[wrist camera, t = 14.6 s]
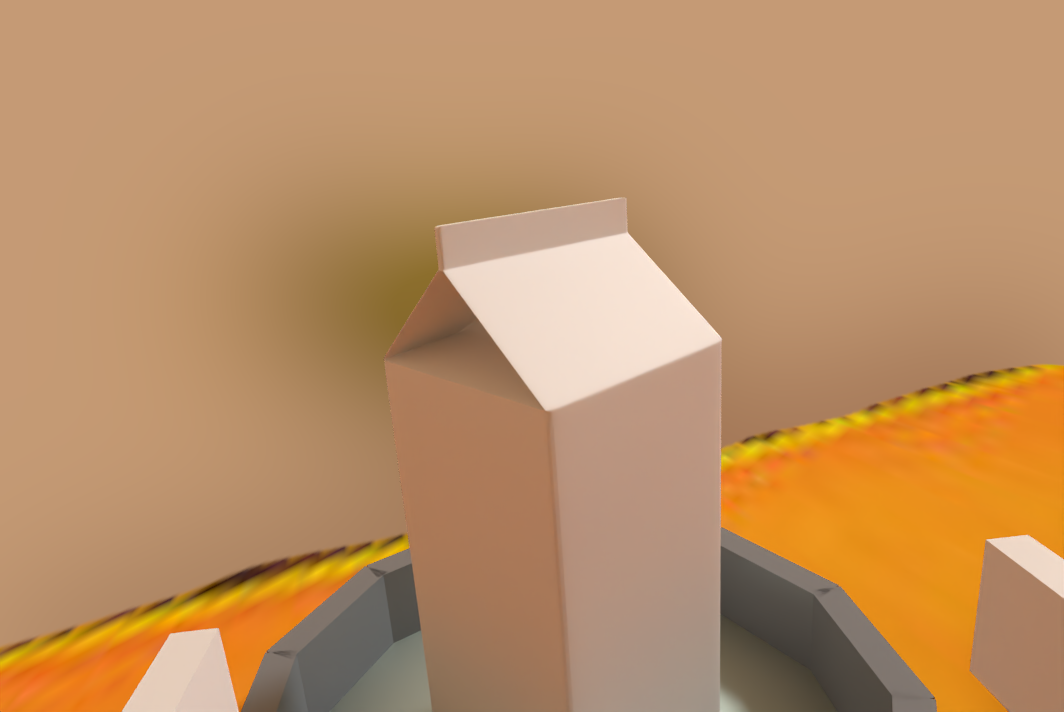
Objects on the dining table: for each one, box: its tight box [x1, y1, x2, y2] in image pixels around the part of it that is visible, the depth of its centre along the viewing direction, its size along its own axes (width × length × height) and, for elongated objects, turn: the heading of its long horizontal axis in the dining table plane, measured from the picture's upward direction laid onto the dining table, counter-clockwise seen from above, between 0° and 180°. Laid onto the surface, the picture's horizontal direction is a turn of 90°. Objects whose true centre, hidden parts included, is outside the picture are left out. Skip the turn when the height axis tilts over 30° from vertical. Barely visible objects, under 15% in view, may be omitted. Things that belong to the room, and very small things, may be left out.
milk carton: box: [384, 198, 722, 712], centre depth 22 cm, size 7×7×19 cm
